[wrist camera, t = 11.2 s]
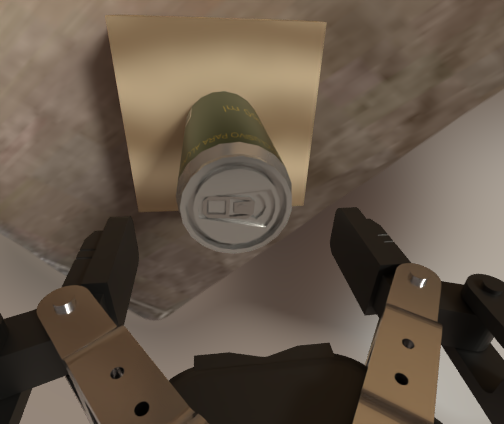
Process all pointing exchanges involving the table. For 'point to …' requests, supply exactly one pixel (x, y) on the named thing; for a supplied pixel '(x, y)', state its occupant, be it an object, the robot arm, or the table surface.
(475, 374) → the robot arm
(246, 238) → the beer can
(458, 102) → the table surface
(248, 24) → the oak pedestal
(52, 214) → the table surface
